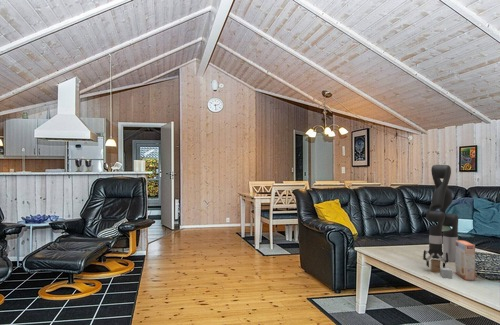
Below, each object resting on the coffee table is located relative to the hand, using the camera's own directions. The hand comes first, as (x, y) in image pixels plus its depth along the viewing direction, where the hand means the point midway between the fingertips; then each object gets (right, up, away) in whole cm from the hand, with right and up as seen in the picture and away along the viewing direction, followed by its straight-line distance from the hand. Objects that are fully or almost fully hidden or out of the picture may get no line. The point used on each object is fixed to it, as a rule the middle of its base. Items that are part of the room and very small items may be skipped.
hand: (435, 267), depth 227 cm
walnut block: (0, -2, 0) cm, 2 cm away
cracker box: (+12, -2, -11) cm, 17 cm away
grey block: (0, -2, -12) cm, 12 cm away
